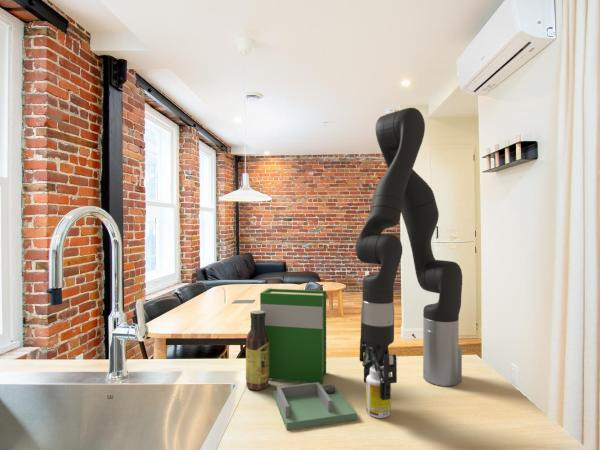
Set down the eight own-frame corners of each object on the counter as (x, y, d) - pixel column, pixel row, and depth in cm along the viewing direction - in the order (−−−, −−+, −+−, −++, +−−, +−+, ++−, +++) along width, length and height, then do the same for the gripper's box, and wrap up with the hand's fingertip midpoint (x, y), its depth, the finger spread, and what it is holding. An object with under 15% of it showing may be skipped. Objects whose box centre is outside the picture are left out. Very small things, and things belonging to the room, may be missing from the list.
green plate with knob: (333, 389, 97) (333, 374, 97) (356, 419, 82) (356, 401, 82) (273, 397, 93) (273, 381, 93) (286, 430, 78) (286, 411, 78)
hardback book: (326, 372, 108) (326, 290, 107) (322, 383, 101) (322, 295, 100) (268, 367, 111) (268, 288, 111) (260, 378, 104) (260, 293, 104)
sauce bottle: (265, 392, 96) (265, 315, 95) (242, 390, 97) (242, 314, 97) (272, 381, 102) (272, 309, 102) (250, 379, 103) (250, 308, 103)
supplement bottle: (395, 416, 84) (395, 371, 84) (374, 421, 82) (374, 375, 82) (382, 405, 89) (382, 362, 89) (361, 409, 87) (361, 366, 87)
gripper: (408, 328, 79) (407, 403, 79) (378, 312, 93) (377, 376, 93) (376, 330, 77) (375, 407, 77) (350, 313, 91) (349, 379, 91)
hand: (376, 390), depth 85 cm, fingers open, 8 cm apart
